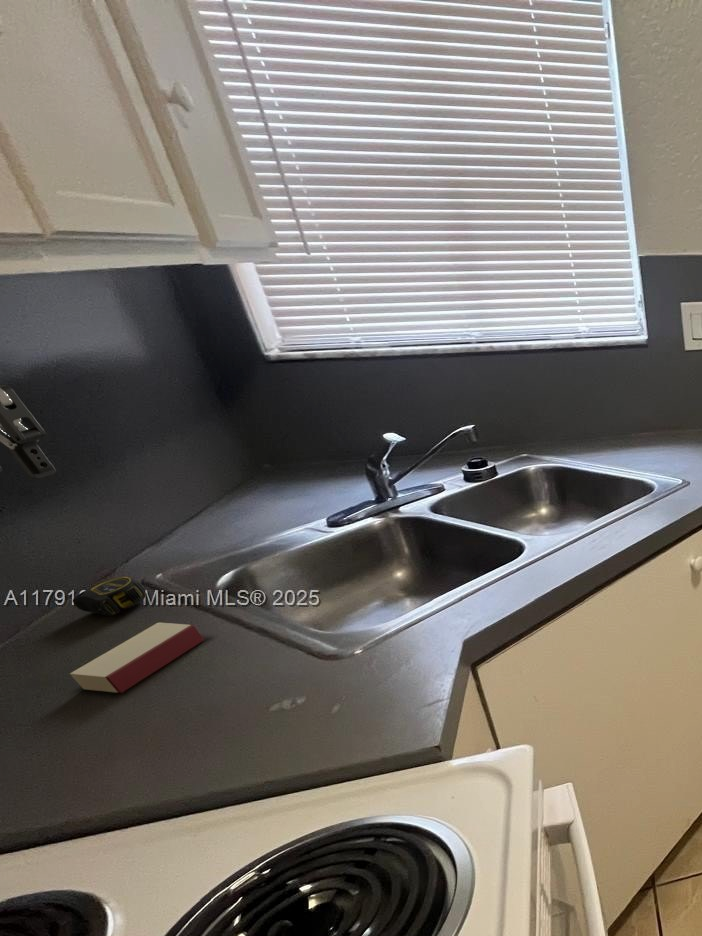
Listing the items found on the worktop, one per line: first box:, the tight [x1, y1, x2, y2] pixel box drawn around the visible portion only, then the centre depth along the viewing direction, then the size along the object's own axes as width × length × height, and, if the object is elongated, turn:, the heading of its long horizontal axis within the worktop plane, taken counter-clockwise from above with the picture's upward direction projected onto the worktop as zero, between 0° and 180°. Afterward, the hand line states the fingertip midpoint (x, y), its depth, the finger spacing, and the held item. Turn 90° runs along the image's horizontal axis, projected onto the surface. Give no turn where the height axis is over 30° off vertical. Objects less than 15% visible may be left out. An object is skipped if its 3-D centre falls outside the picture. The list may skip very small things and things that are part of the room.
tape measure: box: [72, 576, 147, 617], centre depth 95 cm, size 7×7×4 cm
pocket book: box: [69, 622, 205, 694], centre depth 83 cm, size 11×6×3 cm, turn 170°
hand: (18, 475), depth 76 cm, fingers open, 8 cm apart
